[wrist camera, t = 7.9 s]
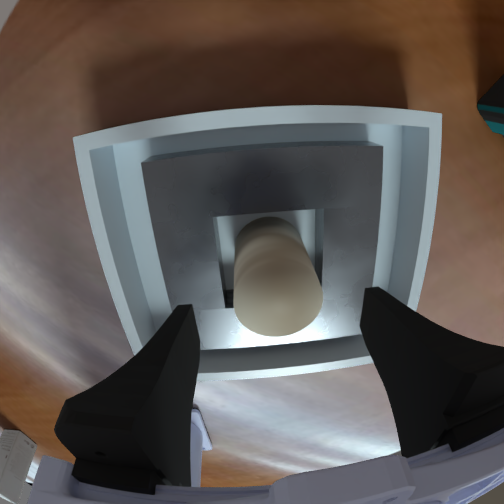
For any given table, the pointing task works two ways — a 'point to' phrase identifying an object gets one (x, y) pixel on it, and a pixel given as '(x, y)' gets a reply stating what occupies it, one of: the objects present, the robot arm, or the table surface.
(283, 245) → the peg
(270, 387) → the table surface
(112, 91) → the table surface
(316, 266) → the plate
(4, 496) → the skincare box
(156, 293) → the tray
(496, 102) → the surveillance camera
